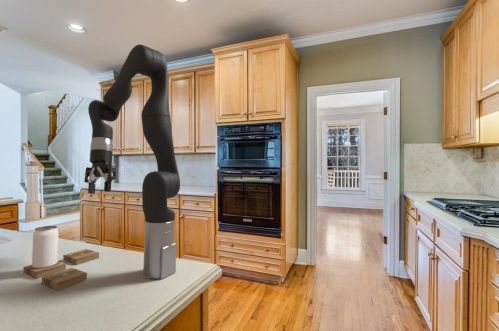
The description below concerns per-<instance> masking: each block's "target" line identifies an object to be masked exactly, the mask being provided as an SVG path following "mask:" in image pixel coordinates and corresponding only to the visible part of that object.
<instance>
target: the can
mask: <svg viewBox="0 0 499 331" xmlns="http://www.w3.org/2000/svg"><path fill="white" fill-rule="evenodd" d="M59 237H60V236H59V229H58V226H57V225H44V226H38V227H35V228H34V232H33V235H32V252H31V253H32V255H31V256H32V257H31V260H32V262H31V265H32V267H34V268H38V269H39V268H47V267H51V266H53V265H55V264H56V263H57V262H58V261H59V260H58V259H59Z"/></svg>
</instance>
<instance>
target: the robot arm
mask: <svg viewBox="0 0 499 331" xmlns="http://www.w3.org/2000/svg"><path fill="white" fill-rule="evenodd" d="M138 74H139V75H142V76H145V77H147V78H150V81H151V92H150V95H149V96H148V99H147V100H146V102H145V104H144V106H143V108H142V111H141V115H140V116H141V125H142V133H143V136H144V138H145V140H146V142H147V144H148V145H149V148H150V149H151V151H152V153H153V154H154V157H155V161H156V165H157V171H151V172H150V171H149V172H148V173H147V174H146V175H145V177H144V178H143V182H142V186H141V190H142V191H141V192H142V193H141V194H142V195H141V196H142V212H143V214H144V235H143V236H144V238H143V239H144V241H143V242H144V243H143V271H142V272H143V273H142V274H143V276H144V278H147V279H160V280H163V279H165V278H166V277H169V276H171V275H172V274H175V273H176V271H177V270H176V267H177V243H176V242H175V227H176V226H175V224H176V221H175V220H176V218H175V217H176V212H175V210H173V209H170V208H169V206H168V200H169V199H171V198H175V197H176V196H177V195H178V194H179V192H180V190H181V179H180V173H179V169H178V165H177V160H176V154H175V147H174V146H175V145H174V141H173V140H174V138H173V130H172V128H173V127H172V119H171V118H172V117H171V112H170V103H169V92H168V91H169V90H168V86H169V85H168V62H167V59H166V56H165V55H164V54H163V53H162V52H161V51H158V50H156V49H153V48H151V47H149V46H147V45H143V44H137V45H135V46H133V48H131V50H130V51H129V53H128V55H127V56H126V59H125V61H124V63H123V65H122V67H121V69H120V70H119V73H118V75H117V77H116V78H115V81H114V82H113V83H112V85H111V86H110V87H109V88H108V90H107V91H106V92H105V93H104V94H103V97H102V100H103V101H101V100H99V99H98V100H97V99H95V100H92V101H91V102H90V103H89V104H88V108H87V109H88V116H89V120H90V123H91V129H92V130H91V131H92V133H91V141H90V142H91V143H90V148H89V150H90V151H89V152H90V153H89V163H90V164H92V166H91V167H89V166H87V167H86V168H85V172H84V173H85V174H84V183H85V184H88V187H87V189H88V190H87V192H88V194H89V195H94V194H96V183H97V182H98V180H100V178H103V179H104V181H103V182H104V183H103V191H104V192H108V193H109V192H111V190H112V182H113V180H116V179H117V164H116V163H113V154H114V153H113V151H114V144H113V139H114V138H113V137H114V135H113V134H114V128H113V127H112V126H111V125H110V124H107V123H106V122H109V123H110V122H111V123H112V122H115V121H116V120H118V118H119V115H120V111H121V109H122V107H123V106H124V105H125V103H127V101H128V100H130V97H131V96H132V93H133V87H132V80H133V78H134V77H135V76H136V75H138ZM104 121H105V122H104Z"/></svg>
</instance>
